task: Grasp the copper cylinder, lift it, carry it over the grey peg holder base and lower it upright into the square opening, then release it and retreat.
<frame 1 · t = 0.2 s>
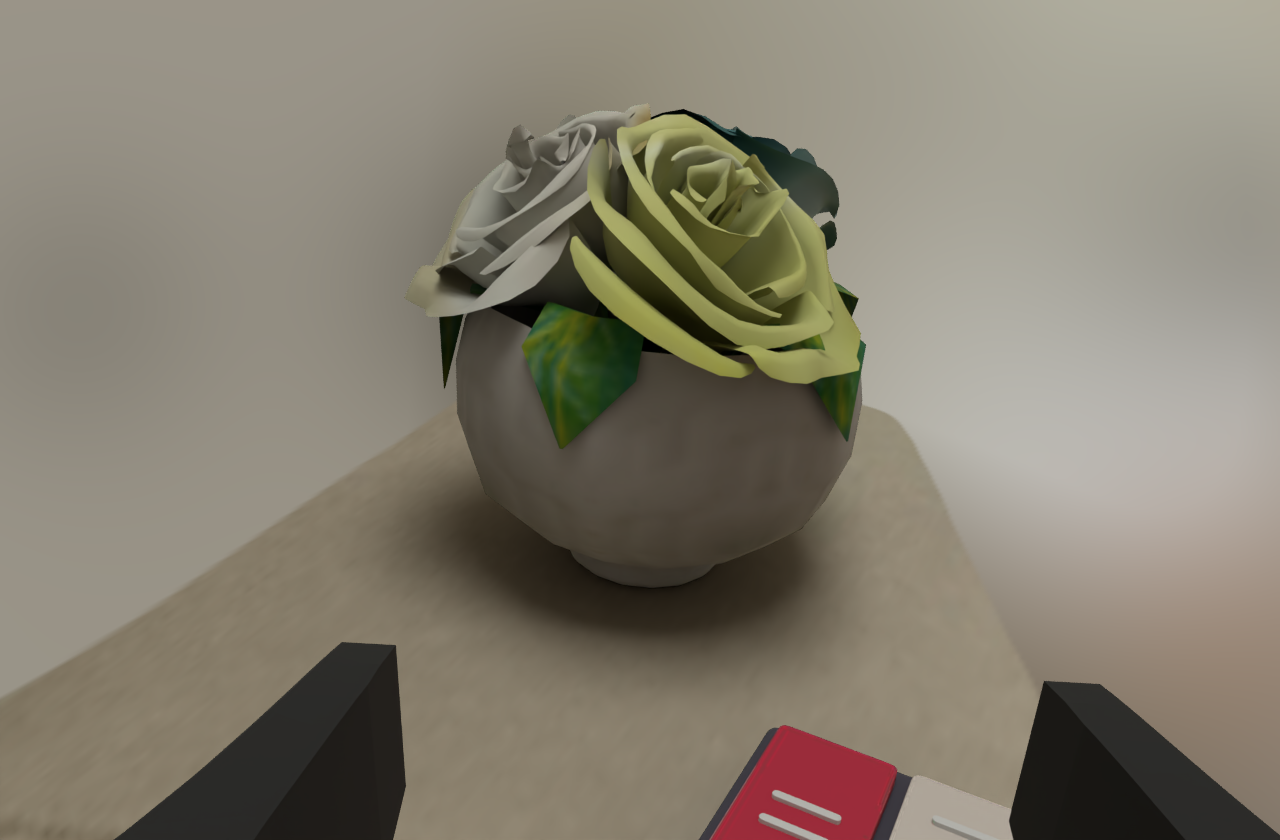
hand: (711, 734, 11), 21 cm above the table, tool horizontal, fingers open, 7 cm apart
flower arrangement: (643, 555, 57), on the table
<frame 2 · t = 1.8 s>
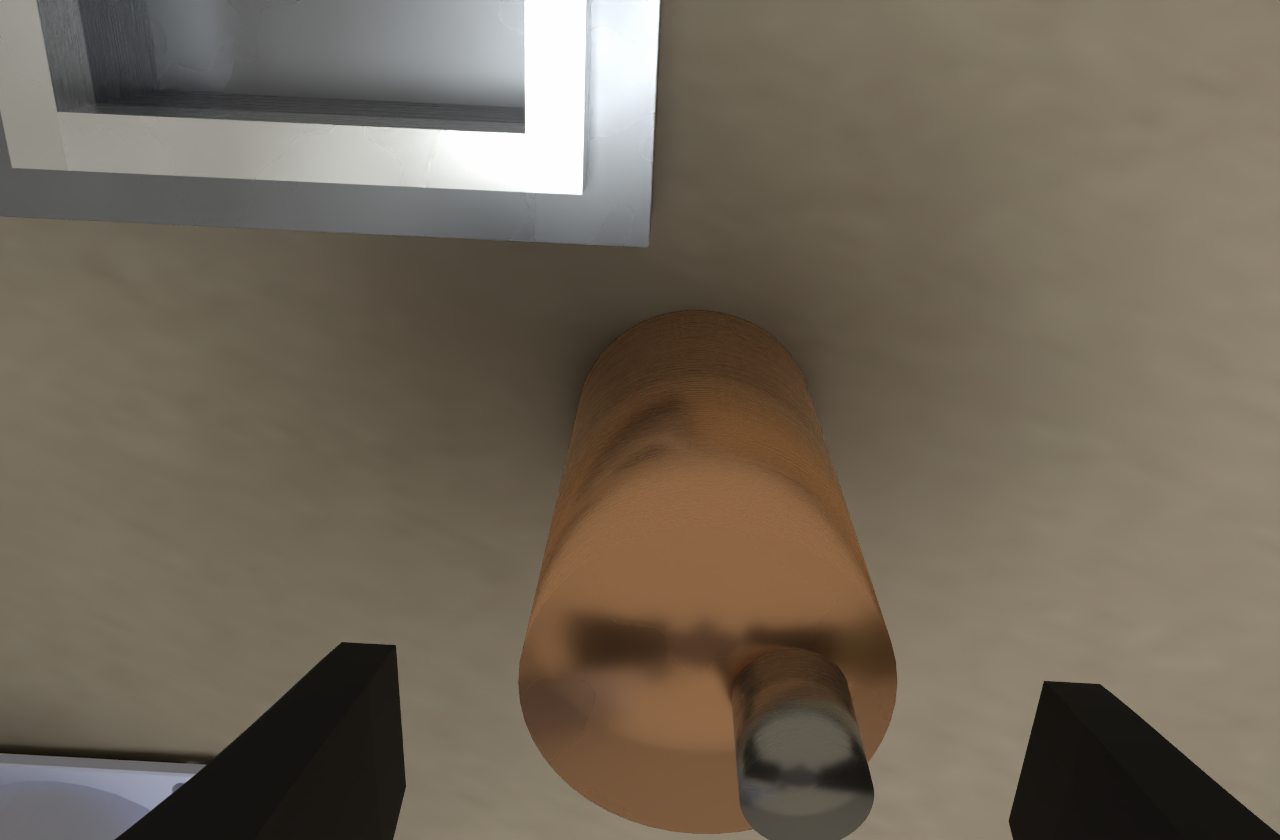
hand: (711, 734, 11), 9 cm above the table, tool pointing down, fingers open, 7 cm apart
copper cylinder: (694, 422, 19), on the table
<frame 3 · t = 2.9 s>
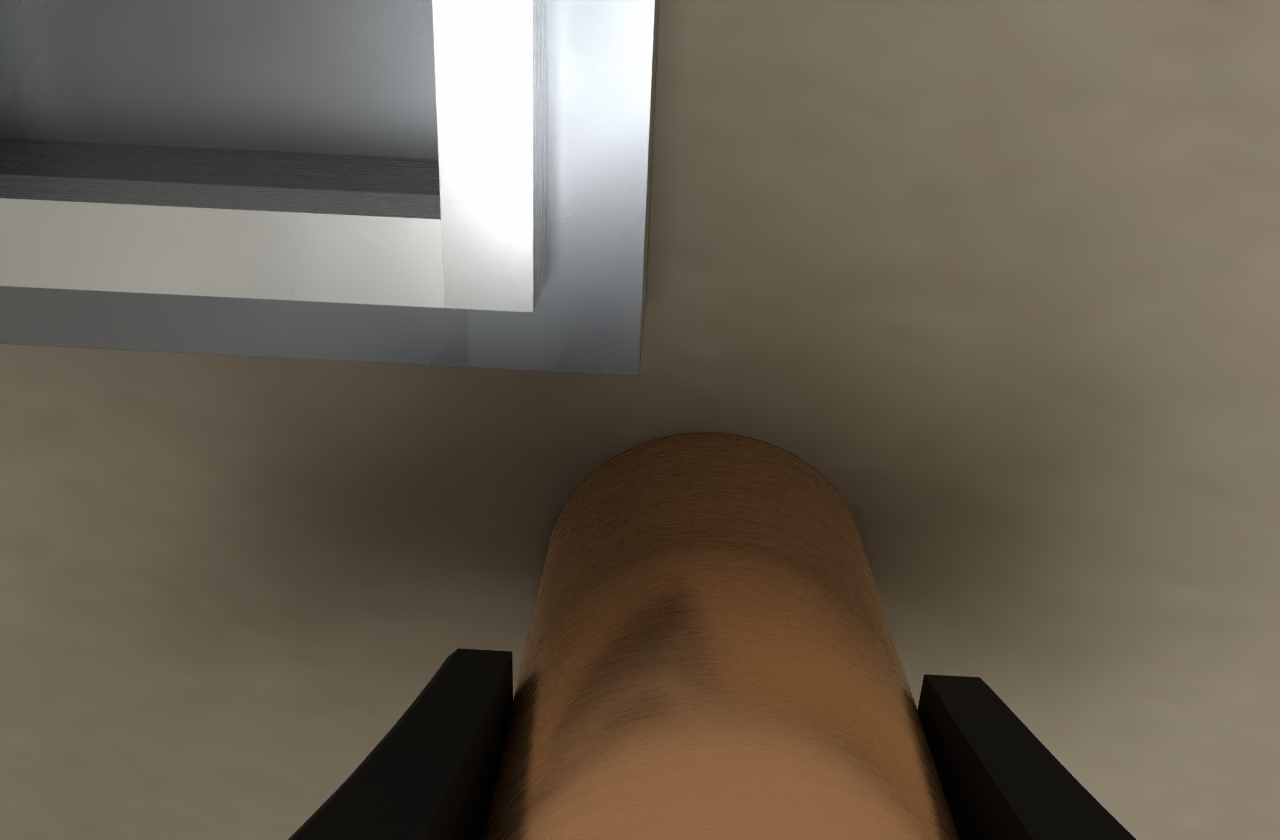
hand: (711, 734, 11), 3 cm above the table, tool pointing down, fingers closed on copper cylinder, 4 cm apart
copper cylinder: (704, 577, 14), on the table, touching gripper
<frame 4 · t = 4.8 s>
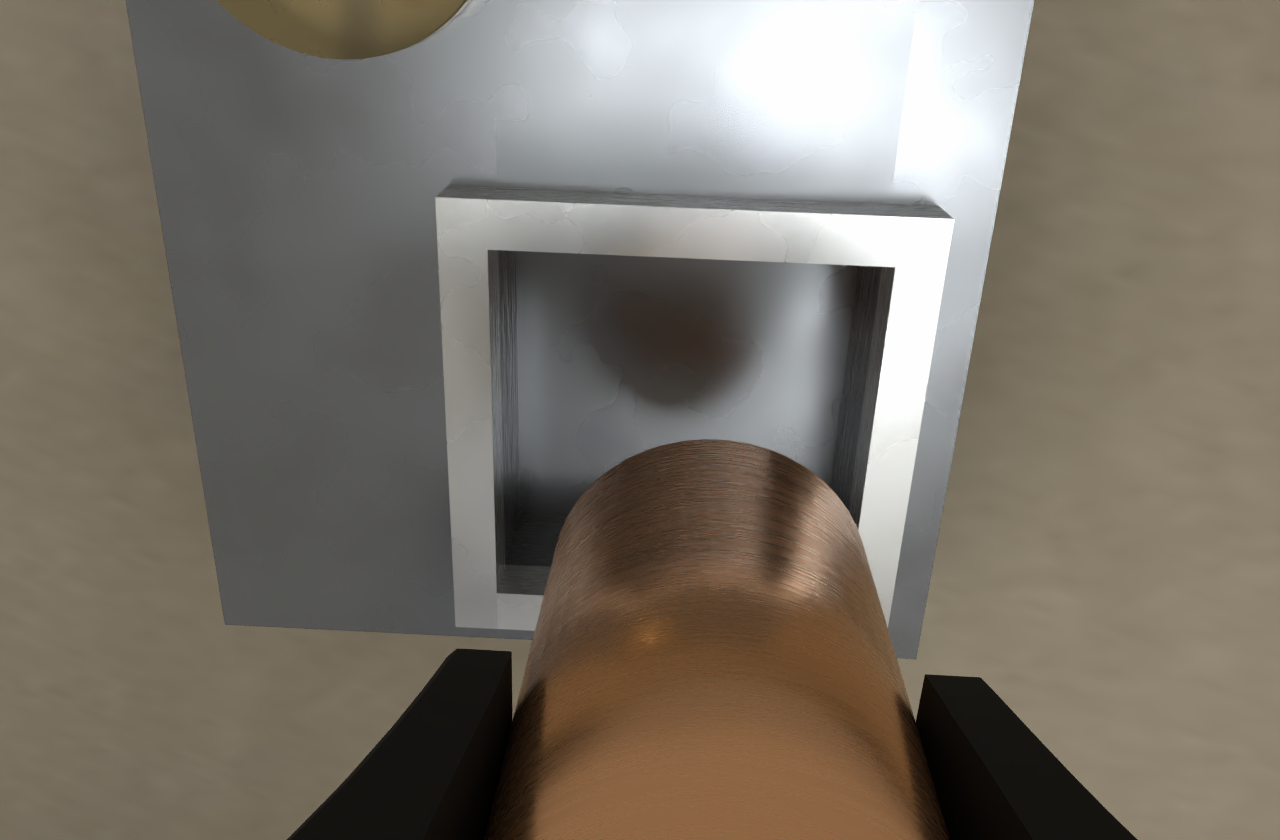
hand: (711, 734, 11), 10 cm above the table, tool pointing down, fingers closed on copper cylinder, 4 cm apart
copper cylinder: (708, 580, 14), point 7 cm above the table, touching gripper
grey peg holder base: (679, 370, 20), on the table
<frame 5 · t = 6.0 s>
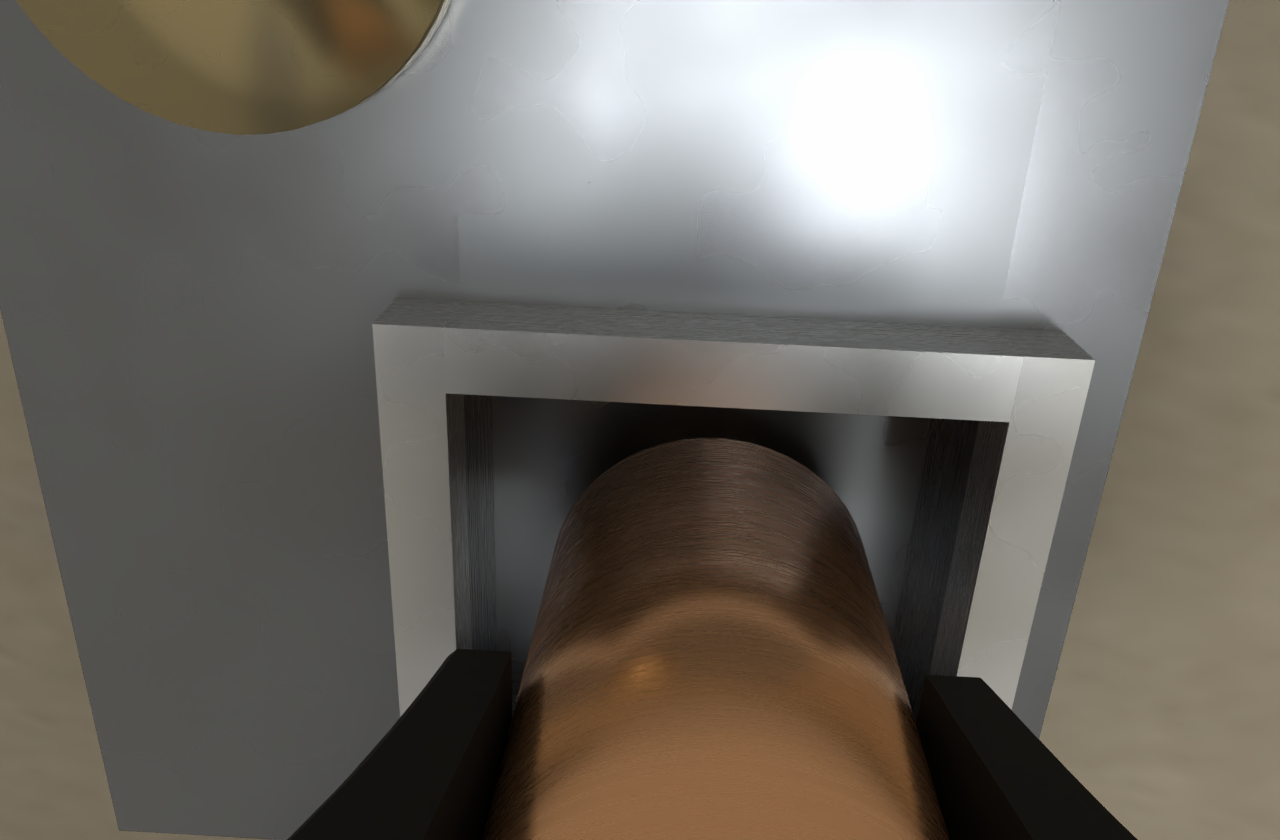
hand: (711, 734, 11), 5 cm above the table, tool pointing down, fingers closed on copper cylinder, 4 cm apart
copper cylinder: (707, 579, 14), point 2 cm above the table, touching gripper
grey peg holder base: (701, 508, 16), on the table
when the fingers open (5 cm above the table, at t = 7.1 s): copper cylinder stays where it is, resting on grey peg holder base.
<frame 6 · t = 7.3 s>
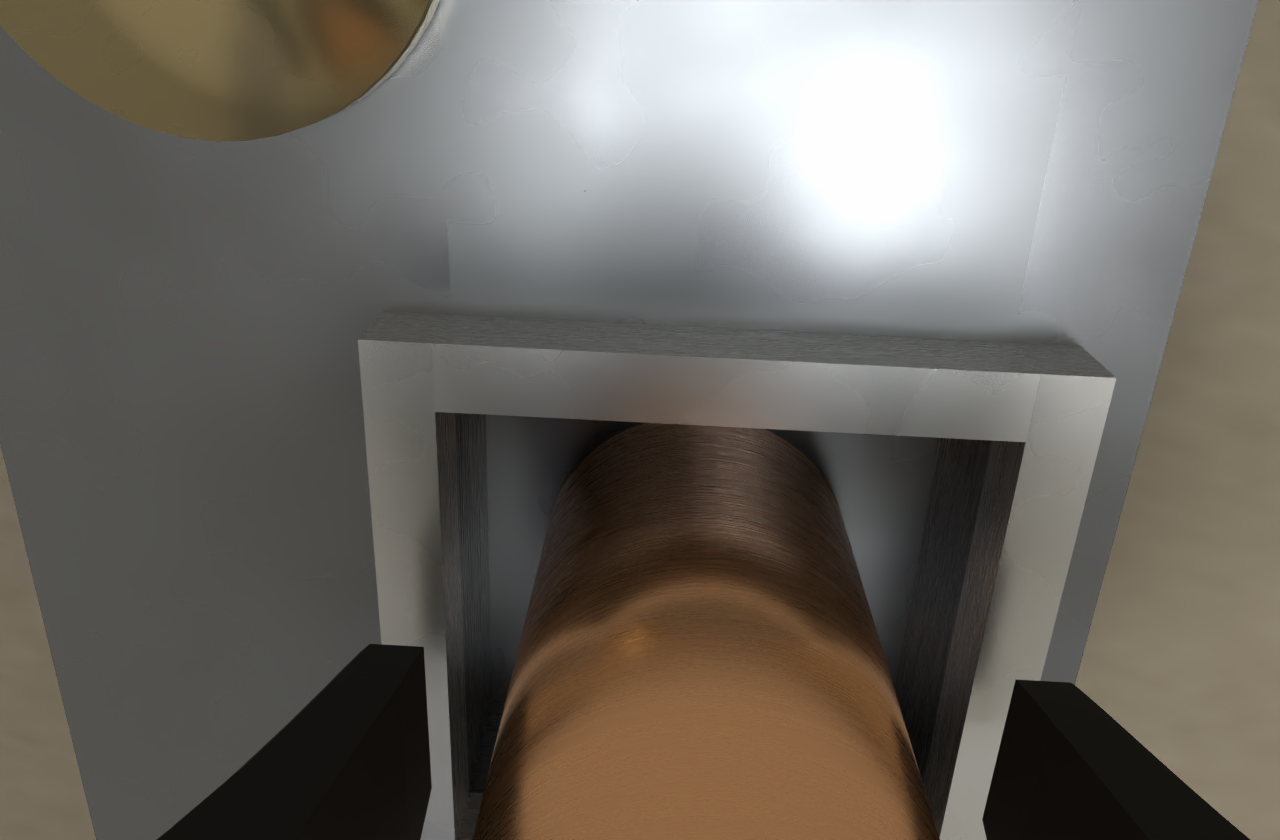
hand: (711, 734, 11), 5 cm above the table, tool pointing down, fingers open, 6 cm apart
copper cylinder: (695, 550, 15), point 1 cm above the table, touching grey peg holder base
grey peg holder base: (702, 525, 15), on the table
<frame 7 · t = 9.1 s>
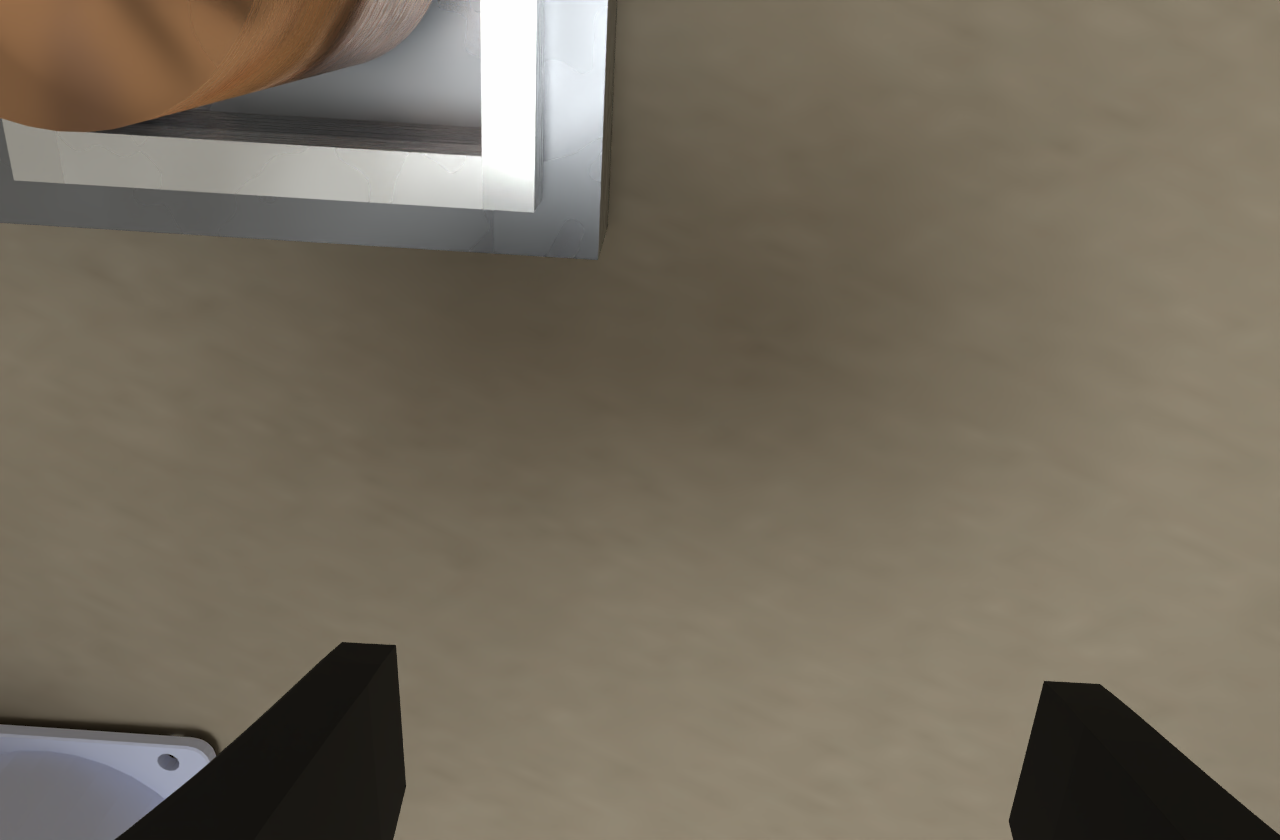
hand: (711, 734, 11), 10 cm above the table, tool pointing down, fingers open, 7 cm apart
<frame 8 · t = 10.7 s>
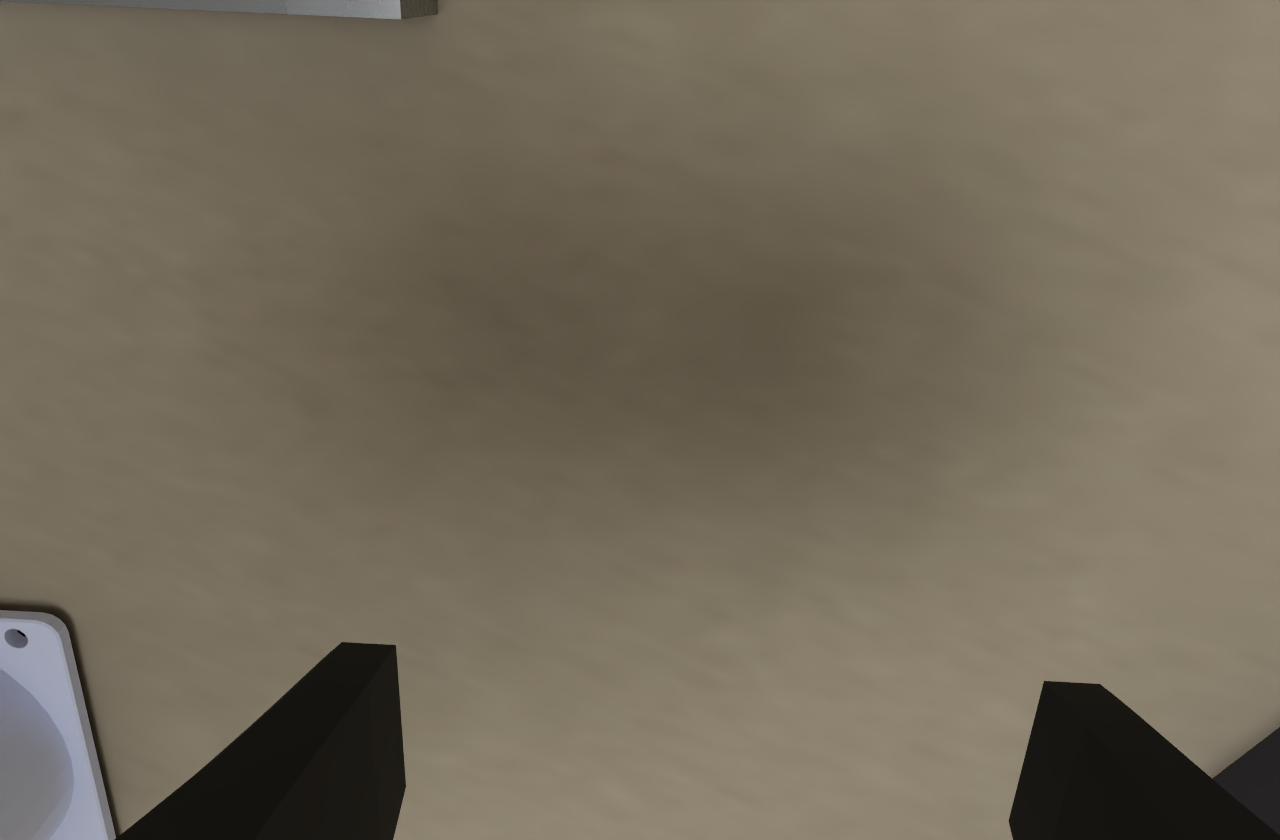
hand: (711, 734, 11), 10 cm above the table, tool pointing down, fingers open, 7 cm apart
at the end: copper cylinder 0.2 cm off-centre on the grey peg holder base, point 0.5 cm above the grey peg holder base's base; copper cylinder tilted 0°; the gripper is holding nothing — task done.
